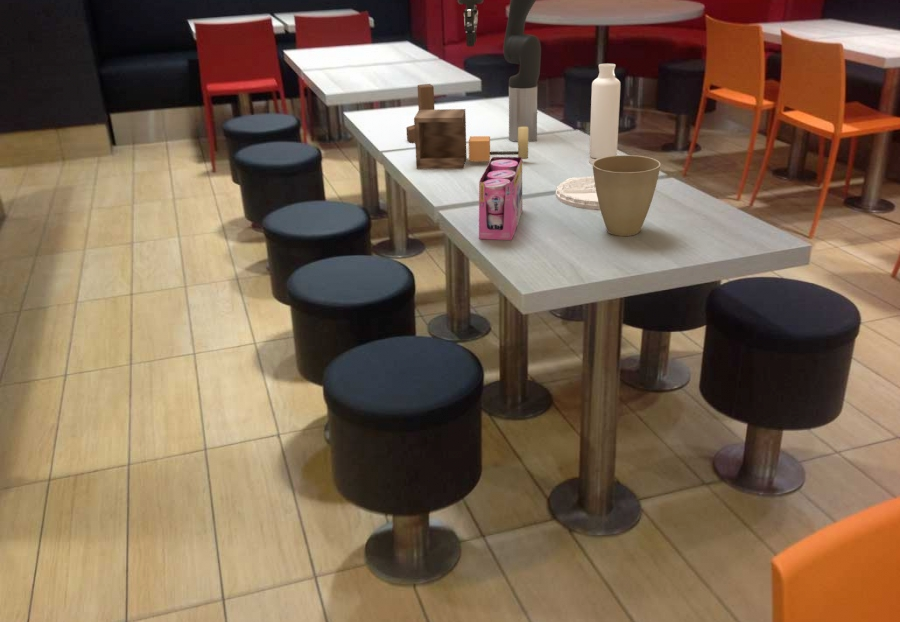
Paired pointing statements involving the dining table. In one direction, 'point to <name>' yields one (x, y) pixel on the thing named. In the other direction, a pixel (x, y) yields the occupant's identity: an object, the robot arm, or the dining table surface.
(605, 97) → the bottle
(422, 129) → the box
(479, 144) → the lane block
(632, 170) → the plant pot
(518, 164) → the gum box
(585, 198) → the medallion
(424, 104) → the wooden block
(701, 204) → the dining table surface
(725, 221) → the dining table surface
